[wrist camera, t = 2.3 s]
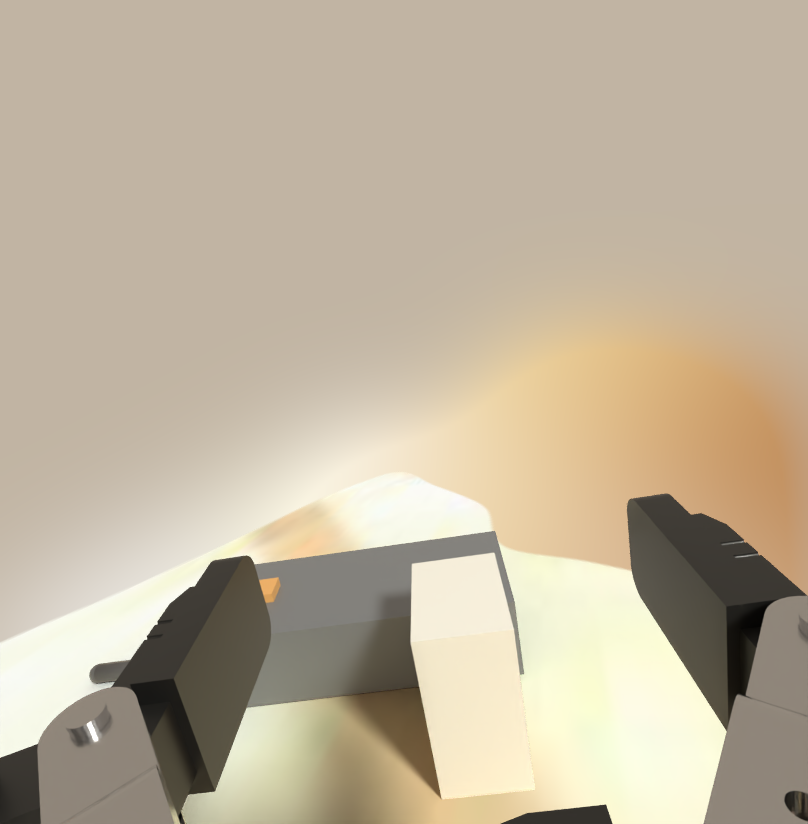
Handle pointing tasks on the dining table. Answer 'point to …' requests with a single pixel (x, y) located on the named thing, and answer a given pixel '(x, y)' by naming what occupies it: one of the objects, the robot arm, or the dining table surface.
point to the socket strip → (345, 620)
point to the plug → (469, 677)
